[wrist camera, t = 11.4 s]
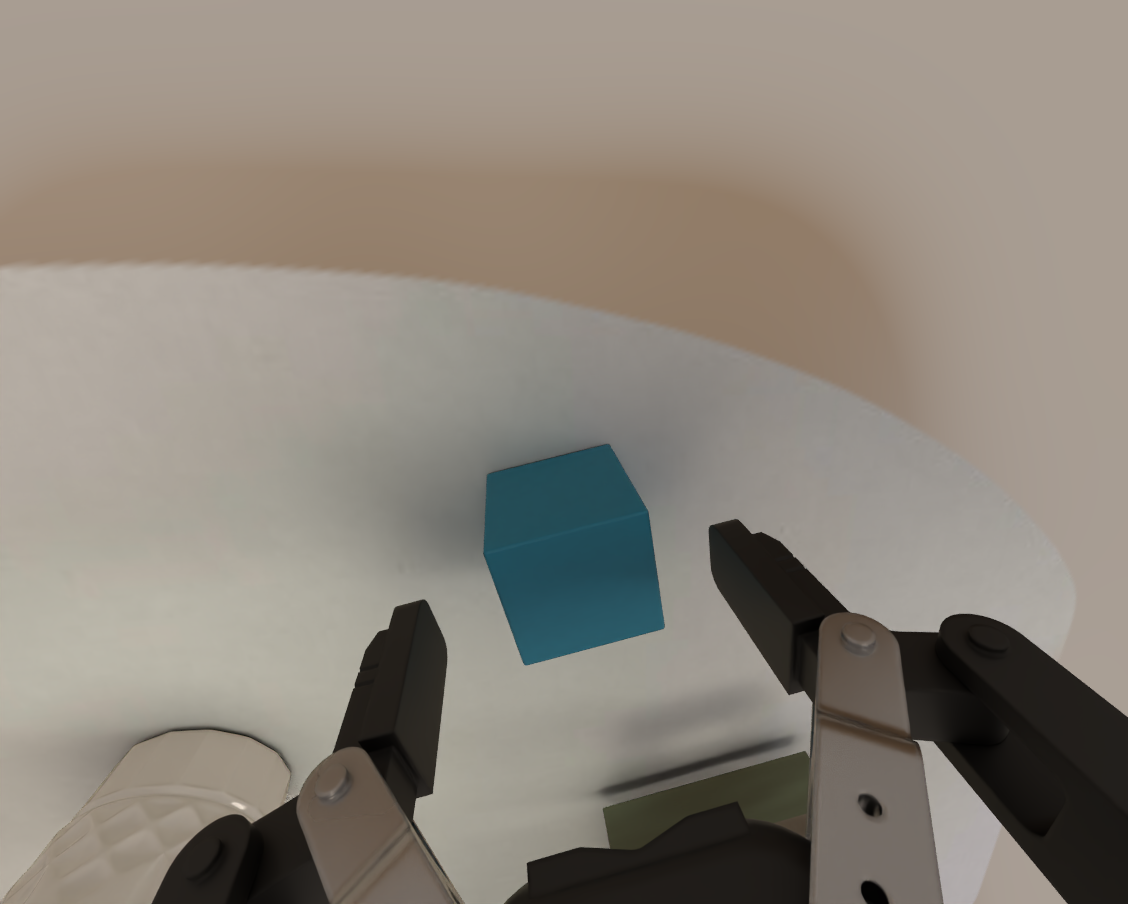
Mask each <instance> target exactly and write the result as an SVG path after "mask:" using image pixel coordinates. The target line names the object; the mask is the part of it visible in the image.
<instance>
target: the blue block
mask: <svg viewBox="0 0 1128 904" xmlns="http://www.w3.org/2000/svg"><path fill="white" fill-rule="evenodd" d="M483 554H484V557H485V560H486V562H487V565H488V568H489V571H490V573H491V576H492V579H493V581H494V584H495V587H496V590H497V592H498V595H499V598H500V601H501V603H502V606H503V609H504V612H505V614H506V617H507V620H508V623H509V625H510V628H511V631H512V633H513V636H514V639H515V642H516V644H517V647H518V650H519V653H520V655H521V658H522V661H523V663H524V665H530V664H534V663H538V662H542V661H545V660H549V659H553V658H557V657H560V656H564V655H568V654H572V653H575V652H579V651H583V650H586V649H590V648H594V647H598V646H601V645H605V644H609V643H613V642H616V641H620V640H624V639H628V638H631V637H635V636H639V635H642V634H646V633H650V632H654V631H657V630H661V629H664V627H665V624H664V617H663V610H662V603H661V596H660V589H659V582H658V575H657V568H656V561H655V554H654V547H653V540H652V533H651V526H650V519H649V512H648V510H647V508H646V507H645V505H644V503H643V501H642V500H641V498H640V496H639V495H638V493H637V491H636V489H635V488H634V486H633V484H632V482H631V481H630V479H629V477H628V476H627V474H626V472H625V470H624V469H623V467H622V465H621V464H620V462H619V460H618V458H617V457H616V455H615V453H614V451H613V450H612V448H611V446H610V445H609V444H606V445H602V446H598V447H594V448H590V449H586V450H582V451H578V452H574V453H570V454H566V455H562V456H558V457H554V458H550V459H546V460H542V461H538V462H534V463H530V464H526V465H522V466H518V467H514V468H510V469H506V470H502V471H498V472H494V473H490V474H488V475H487V485H486V507H485V530H484V552H483Z"/></svg>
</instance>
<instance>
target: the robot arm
mask: <svg viewBox="0 0 1128 904" xmlns="http://www.w3.org/2000/svg"><path fill="white" fill-rule="evenodd" d="M709 545H710V561H711V571H712V575H713V578H714V581H715V583H716V585H717V587H718V589H719V591H720V592H721V594H722V595H723V597H724V598H725V600H726V601H727V603H728V604H729V606H730V607H731V609H732V610H733V612H734V613H735V615H736V616H737V618H738V619H739V621H740V622H741V624H742V625H743V627H744V628H745V630H746V631H747V633H748V634H749V636H750V637H751V639H752V640H753V642H754V643H755V645H756V646H757V648H758V649H759V651H760V652H761V654H762V655H763V657H764V658H765V660H766V661H767V663H768V664H769V666H770V667H771V669H772V670H773V672H774V673H775V675H776V676H777V678H778V680H779V681H780V683H781V684H782V686H783V687H784V689H785V690H786V692H787V693H788V695H791V694H794V693H798V692H801V691H805V692H806V694H807V695H808V697H809V698H810V699H811V701H812V702H813V703H812V719H811V739H810V760H809V780H808V797H807V812H806V828H805V837H803V836H802V835H800V834H798V833H796V832H794V831H792V830H790V829H787V828H785V827H783V826H780V825H777V824H774V823H771V822H768V821H762V820H757V819H746V818H745V817H744V815H743V812H742V810H741V808H740V806H739V803H738V801H736V802H733V803H729V804H726V805H722V806H719V807H716V808H712V809H709V810H705V811H702V812H698V813H695V814H692V815H688V816H686V817H684V818H683V819H682V820H680V821H679V822H677V823H676V824H674V825H673V826H672V827H670V828H669V829H667V830H666V831H664V832H663V833H662V834H660V835H659V836H657V837H656V838H654V839H653V840H652V841H650V842H649V843H647V844H646V845H644V846H643V847H641V848H639V849H635V850H627V849H605V848H584V847H579V848H576V849H572V850H569V851H565V852H562V853H558V854H555V855H552V856H548V857H545V858H541V859H538V860H535V861H531V862H528V863H527V873H528V883H527V884H525V885H524V886H522V887H521V888H520V889H519V890H518V891H516V892H515V893H514V894H513V895H512V896H511V897H510V898H509V899H508V900H507V901H506V902H505V903H504V904H943V897H942V890H941V883H940V876H939V869H938V862H937V855H936V848H935V841H934V834H933V827H932V820H931V813H930V806H929V799H928V792H927V785H926V778H925V771H924V764H923V758H922V753H921V749H920V746H919V744H918V743H917V742H916V741H913V740H924V741H934V743H935V744H936V745H937V746H938V748H939V749H940V750H941V751H942V752H943V754H944V755H945V756H946V757H947V758H948V760H949V761H950V762H951V763H952V764H953V766H954V767H955V768H956V769H957V771H958V772H959V773H960V774H961V775H962V777H963V778H964V779H965V780H966V781H967V783H968V784H969V785H970V786H971V787H972V789H973V790H974V791H975V792H976V793H977V795H978V796H979V797H980V798H981V800H982V801H983V802H984V803H985V804H986V806H987V807H988V808H989V809H990V810H991V812H992V813H993V814H994V815H995V816H996V818H997V819H998V820H999V821H1000V823H1001V824H1002V825H1003V826H1004V827H1005V829H1006V830H1007V831H1008V832H1009V833H1010V835H1011V836H1012V837H1013V838H1014V839H1015V841H1016V842H1017V843H1018V844H1019V845H1020V847H1021V848H1022V849H1023V850H1024V852H1025V853H1026V854H1027V855H1028V856H1029V858H1030V859H1031V860H1032V861H1033V862H1034V864H1035V865H1036V866H1037V867H1038V868H1039V870H1040V871H1041V872H1042V873H1043V874H1044V876H1045V877H1046V878H1047V879H1048V880H1049V882H1050V883H1051V884H1052V885H1053V887H1054V888H1055V889H1056V890H1057V891H1058V893H1059V894H1060V895H1061V896H1062V897H1063V899H1064V900H1065V901H1066V902H1067V903H1068V904H1128V717H1127V716H1125V715H1124V714H1123V713H1121V712H1120V711H1119V710H1118V709H1117V708H1115V707H1114V706H1113V705H1111V704H1110V703H1109V702H1107V701H1106V700H1105V699H1104V698H1102V697H1101V696H1100V695H1098V694H1097V693H1096V692H1095V691H1094V690H1092V689H1091V688H1090V687H1088V686H1087V685H1086V684H1085V683H1083V682H1082V681H1081V680H1079V679H1078V678H1077V677H1075V676H1074V675H1073V674H1072V673H1070V672H1069V671H1068V670H1067V669H1065V668H1064V667H1063V666H1062V665H1060V664H1059V663H1058V662H1056V661H1055V660H1054V659H1053V658H1051V657H1050V656H1049V655H1047V654H1046V653H1045V652H1044V651H1042V650H1041V649H1040V648H1039V647H1037V646H1036V645H1035V644H1033V643H1032V642H1031V641H1030V640H1028V639H1027V638H1026V637H1024V636H1023V635H1022V634H1020V633H1019V632H1018V631H1016V630H1015V629H1013V628H1011V627H1010V626H1008V625H1006V624H1004V623H1001V622H999V621H997V620H994V619H991V618H988V617H984V616H980V615H974V614H957V615H952V616H949V617H948V618H946V619H945V620H944V621H943V622H942V624H941V626H940V630H939V633H937V632H898V631H890V630H888V629H887V628H886V627H885V626H883V625H882V624H881V623H879V622H877V621H876V620H874V619H872V618H869V617H867V616H864V615H860V614H856V613H850V612H849V611H848V610H847V609H846V608H845V607H844V606H843V605H842V604H841V603H840V602H839V601H838V600H837V599H836V598H835V597H834V596H833V595H832V594H831V593H830V592H829V591H828V590H827V589H826V588H825V587H824V586H823V585H822V584H821V583H820V582H819V581H818V580H817V579H816V578H815V577H814V576H813V575H812V574H811V573H810V572H809V571H808V570H807V569H805V568H804V566H803V565H802V564H801V563H800V562H799V560H798V559H797V558H796V557H795V558H794V557H793V554H792V553H791V552H790V551H789V550H788V549H787V548H786V547H785V546H784V545H783V544H782V543H781V542H780V541H778V540H776V539H774V538H772V537H770V536H768V535H766V534H764V533H762V532H760V533H756V534H751V533H750V531H749V530H748V529H747V528H746V527H745V526H744V525H743V524H742V523H741V522H740V521H739V520H738V519H734V520H730V521H726V522H722V523H718V524H715V525H711V526H710V527H709ZM446 668H447V648H446V643H445V639H444V637H443V634H442V632H441V630H440V628H439V626H438V624H437V622H436V619H435V617H434V615H433V613H432V611H431V609H430V606H429V604H428V603H427V601H426V600H419V601H416V602H412V603H408V604H404V605H400V606H397V607H395V609H394V611H393V615H392V618H391V622H390V625H389V629H387V630H383V631H379V632H378V633H377V635H376V636H375V637H374V639H373V640H372V642H371V643H370V645H369V646H368V647H367V649H366V650H365V654H364V657H363V660H362V663H361V666H360V672H359V673H358V676H357V679H356V682H355V688H354V689H353V691H352V694H351V698H350V701H349V704H348V707H347V710H346V713H345V717H344V720H343V723H342V726H341V729H340V732H339V735H338V739H337V742H336V745H335V748H334V751H333V753H332V754H331V755H330V756H328V757H327V758H326V759H324V760H323V761H322V762H321V763H320V764H319V765H318V766H317V767H316V768H315V769H314V770H313V771H312V772H311V774H310V775H309V777H308V778H307V780H306V781H305V783H304V785H303V787H302V789H301V791H300V793H299V795H298V796H296V797H295V798H293V799H292V800H290V801H288V802H287V803H285V804H283V805H282V806H280V807H278V808H277V809H275V810H273V811H272V812H270V813H268V814H267V815H265V816H263V817H262V818H260V819H258V820H257V821H255V822H254V823H250V822H249V821H248V820H247V819H246V818H245V817H244V816H242V815H239V814H231V815H227V816H224V817H221V818H219V819H217V820H215V821H214V822H212V823H210V824H209V825H207V826H206V827H205V828H203V829H202V830H201V831H200V832H198V833H197V834H196V835H195V836H194V837H193V838H192V839H191V840H190V841H189V842H188V843H187V844H186V845H185V846H184V848H183V849H182V850H181V851H180V853H179V854H178V855H177V856H176V858H175V859H174V861H173V862H172V864H171V865H170V867H169V869H168V871H167V873H166V875H165V877H164V879H163V881H162V883H161V885H160V887H159V889H158V891H157V893H156V895H155V897H154V899H153V901H152V904H465V903H464V901H463V900H462V898H461V897H460V895H459V894H458V892H457V890H456V889H455V887H454V886H453V884H452V882H451V881H450V879H449V877H448V876H447V874H446V872H445V871H444V869H443V867H442V866H441V864H440V862H439V861H438V859H437V858H436V856H435V854H434V853H433V851H432V849H431V848H430V846H429V844H428V843H427V841H426V839H425V838H424V836H423V834H422V833H421V831H420V830H419V828H418V826H417V825H416V823H415V821H414V820H413V815H414V808H415V801H416V798H419V797H423V796H427V795H430V794H433V786H434V777H435V768H436V759H437V750H438V741H439V732H440V723H441V714H442V705H443V696H444V687H445V677H446Z"/></svg>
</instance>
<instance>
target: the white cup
mask: <svg viewBox="0 0 1128 904" xmlns="http://www.w3.org/2000/svg"><path fill="white" fill-rule="evenodd" d="M290 775H291V773H290V771H289V769H288V768H287V766H286V765H285V763H284V762H283V760H282V759H281V757H280V756H279V754H278V753H277V752H275V751H273V750H272V749H270V748H268V747H266V746H265V745H263V744H261V743H259V742H257V741H255V740H254V739H252V738H250V737H246V736H242V735H237V734H232V733H227V732H222V731H216V730H187V731H174V732H168V733H165V734H163V735H160V736H157V737H155V738H152V739H149V740H147V741H144V742H141V743H138V744H136V745H135V746H133V747H132V748H131V750H130V751H129V752H128V753H127V754H126V755H125V756H124V757H123V758H122V759H121V761H120V762H119V763H118V764H117V765H116V766H115V767H114V768H113V769H112V771H111V772H110V773H109V774H108V776H107V777H106V778H105V780H104V781H103V782H102V783H101V785H100V786H99V787H98V788H97V790H96V791H95V792H94V793H93V795H92V796H91V797H90V799H89V800H88V801H87V802H86V804H85V805H84V806H83V807H82V809H81V810H80V811H79V812H78V813H77V814H76V815H75V817H74V818H73V819H72V821H71V822H70V823H69V824H68V825H66V826H65V827H64V828H62V829H61V830H60V831H59V832H58V833H57V834H56V835H55V836H54V837H53V839H52V840H51V841H50V842H49V843H48V845H47V846H46V847H45V849H44V850H43V851H42V853H41V854H40V855H39V857H38V858H37V859H36V861H35V862H34V863H33V865H32V866H31V867H30V868H29V869H28V870H27V871H26V872H25V873H24V874H23V875H22V876H21V878H20V879H19V880H18V881H17V882H16V883H15V884H14V885H13V886H12V888H11V889H10V890H9V891H8V893H7V894H6V895H5V897H4V898H3V899H2V900H1V902H0V904H152V901H153V899H154V897H155V895H156V893H157V891H158V889H159V887H160V885H161V883H162V881H163V879H164V877H165V875H166V873H167V871H168V869H169V867H170V865H171V864H172V862H173V861H174V859H175V858H176V856H177V855H178V854H179V853H180V851H181V850H182V849H183V848H184V846H185V845H186V844H187V843H188V842H189V841H190V840H191V839H192V838H193V837H194V836H195V835H196V834H197V833H198V832H200V831H201V830H202V829H203V828H205V827H206V826H207V825H209V824H210V823H212V822H214V821H215V820H217V819H219V818H221V817H224V816H227V815H231V814H239V815H242V816H244V817H245V818H246V819H247V820H248V821H249V822H250V823H254V822H255V821H257V820H258V819H260V818H262V817H263V816H265V815H267V814H268V813H270V812H272V811H273V810H275V809H277V808H278V807H280V806H282V805H283V804H284V803H285V800H286V797H287V793H288V787H289V781H290Z"/></svg>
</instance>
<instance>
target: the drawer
mask: <svg viewBox="0 0 1128 904" xmlns="http://www.w3.org/2000/svg"><path fill="white" fill-rule="evenodd" d="M809 760H810V758H809V756H808V755H807V753H806V752H805V751H803V752H800V753H796V754H793V755H789V756H786V757H782V758H779V759H775V760H771V761H768V762H764V763H761V764H757V765H754V766H750V767H747V768H743V769H740V770H736V771H732V772H729V773H725V774H722V775H718V776H715V777H711V778H708V779H704V780H701V781H697V782H694V783H690V784H686V785H683V786H679V787H676V788H672V789H669V790H665V791H662V792H658V793H655V794H651V795H648V796H644V797H640V798H637V799H633V800H630V801H626V802H623V803H619V804H616V805H612V806H609V807H605V808H603V812H604V818H605V823H606V828H607V833H608V839H609V844H610V849H627V850H635V849H639V848H641V847H643V846H644V845H646V844H647V843H649V842H650V841H652V840H653V839H654V838H656V837H657V836H659V835H660V834H662V833H663V832H664V831H666V830H667V829H669V828H670V827H672V826H673V825H674V824H676V823H677V822H679V821H680V820H682V819H683V818H684V817H686V816H688V815H692V814H695V813H698V812H702V811H705V810H709V809H712V808H716V807H719V806H722V805H726V804H729V803H733V802H736V801H738V803H739V806H740V808H741V810H742V812H743V815H744V817H745V818H746V819H757V820H762V821H768V822H771V823H774V824H777V825H780V826H783V827H785V828H787V829H790V830H792V831H794V832H796V833H798V834H800V835H802V836H803V837H805V828H806V812H807V797H808V780H809Z"/></svg>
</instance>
